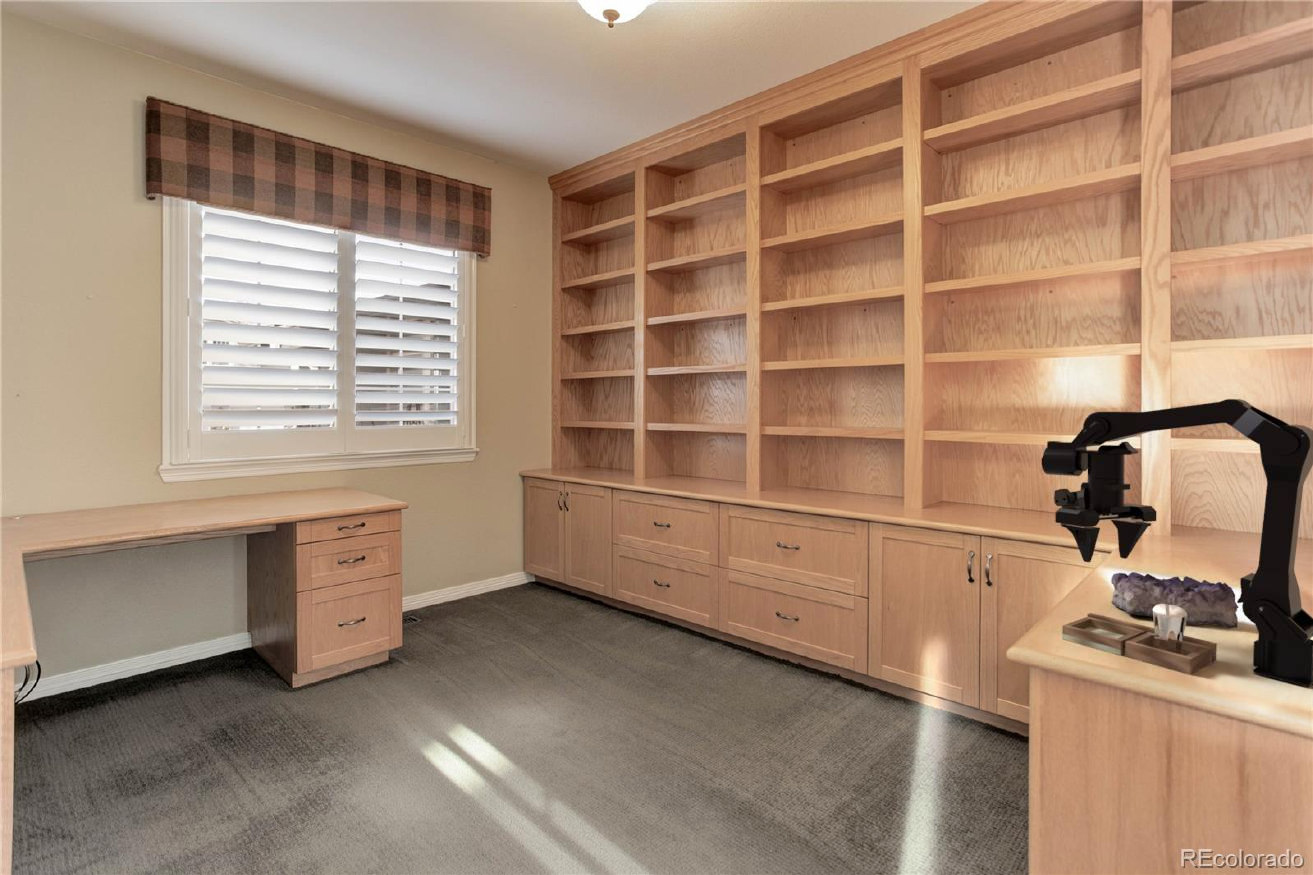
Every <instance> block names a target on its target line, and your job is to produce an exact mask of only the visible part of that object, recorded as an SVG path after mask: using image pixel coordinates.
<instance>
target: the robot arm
mask: <svg viewBox="0 0 1313 875" xmlns="http://www.w3.org/2000/svg"><path fill="white" fill-rule="evenodd" d="M1218 424H1219V425H1220V424H1227V425H1229V426H1230V427H1232V428H1233V429H1234V430H1236V431H1238V433H1240V434H1241V435H1243V436H1244V437H1246V438H1247V439H1249V440H1251V441H1252V442H1254V443H1256V444H1257V445H1259V451H1260V459H1261V465H1262V468H1263V471H1264V475H1265V478H1266V490H1265V492H1266V493H1265V502H1264V511H1263V520H1262V529H1261V530H1262V531H1261V537H1260V547H1259V556H1258V557H1259V558H1258V564H1257V569H1256V571H1255V573H1254V572H1250V573H1248V574H1246V575H1245V576H1242V577H1241V578H1240V579H1239V580H1240V581H1239V584H1240V596H1239V598H1238V599H1237V601H1236V603H1237V604H1241V603H1242V605H1241V606H1242V608H1241V609H1242V612H1243V615H1244V616H1245V617H1246V618H1247V619H1248V620H1249V621H1250V622H1251V623H1253V624H1254V625H1255V627H1256V629H1257V630H1256V631H1257V632H1258V637H1257V638H1258V639H1256V640H1255V641H1253V649H1252V650H1253V652H1252V665H1253V666H1254V668H1253V670H1252V673H1254V674H1257V675H1259V676H1265V677H1269V678H1270V679H1271V678H1272V679H1275V680H1279V681H1283V682H1287V683H1291V684H1294V685H1299V686H1303V687H1306V688H1307V687H1311V686H1312V685H1313V639H1312V637H1313V617H1312V616H1311V615H1310V614H1309V613H1308V612H1307V611H1306V610H1304V609H1303V607H1302V601H1301V599H1302V598H1301V591H1300V586H1299V582H1298V580H1297V577H1296V572H1295V563H1296V556H1297V554H1296V553H1297V548H1298V547H1297V546H1298V536H1299V529H1300V518H1301V509H1302V502H1303V501H1302V500H1303V492H1304V485H1305V482H1306V479H1307V478H1308V476H1309V474H1310V471H1311V469H1312V467H1313V429H1312V428H1310V427H1308V426H1305V425H1302V424H1289V423H1288V422H1286V421H1283V420H1282V419H1280V418H1278V417H1277V416H1273V415H1271V414H1270V413H1268V412H1265V411H1264V410H1261V409H1259V408H1257V407H1255V406H1253V405H1252V404H1251V403H1249V402H1248V401H1247V400H1244V399H1240V398H1239V399H1238V398H1237V399H1236V398H1227V399H1224V400H1220V401H1216V402H1215V401H1214V402H1208V403H1207V402H1206V403H1201V404H1192V405H1186V406H1177V407H1171V408H1165V409H1164V408H1162V409H1156V410H1155V409H1154V410H1148V411H1095V412H1091V413H1090V414H1088V415H1087V417H1086V418H1085V419H1084V422H1083V426H1082V427H1083V428H1082V429H1080V431H1079V433H1078V434H1077V435H1076V436H1075V437H1074V439H1072V441H1066V442H1065V441H1060V440H1048V441H1047V442H1046V444H1047V445H1046V447H1045V449H1044V452H1043V455H1042V457H1041V469H1042V471H1043V472H1044V474H1046V475H1051V476H1052V475H1053V476H1067V477H1068V476H1069V477H1070V476H1071V477H1072V476H1073V477H1080V476H1081V475H1082V474H1083V472H1086V471H1087V481H1084V482H1081V484H1080V489H1079V490H1077V491H1070V490H1069V489H1068V488H1059V489H1056V490H1054V494H1053V495H1054V496H1053V500H1054V504H1055V505H1056V506H1057V507H1059V508H1058V509H1057V510H1056V511H1055V512H1054V514H1055V516H1054V522H1055V523H1056V524H1060V526H1061V528H1065V529H1067V530H1068V531H1069V532H1070V534H1072V536H1073V538H1074V540H1075V543H1076V546H1077V548H1078V550H1079V553H1080V555H1081V557H1082V560H1083V562H1084V563H1091V561H1092V559H1093V555H1094V553H1095V548H1096V545H1097V540H1098V537H1099V534H1100V529H1101V527H1098V526H1097V525H1098V524H1099V523H1100V521H1103V520H1104V521H1105V520H1110V521H1111V522H1112V524H1113V525H1114V527H1115V528H1116V530H1117V542H1118V544H1117V545H1118V552H1119V558H1121V559H1128V558H1129V555H1130V554H1131V553H1132V551H1133V550H1134V548H1135V546H1136V545H1137V543H1138V542H1139V540H1140V538H1141V537H1142V535H1144V533H1145V532H1146V530H1147V529H1148V527H1151V526H1152V522H1157V510H1156V509H1155V508H1154V507H1153V506H1152V505H1145V504H1137V503H1128V502H1127V503H1125V491H1126V490H1127V491H1128V490H1131V483H1125V472H1126V471H1125V456H1126V455H1127V456H1130V455H1131V456H1132V455H1138V454H1139V450H1138V449H1136V448H1135V447H1133V446H1132V445H1131V443H1130V442H1129V441H1122V440H1126V439H1129V438H1133V437H1136V436H1139V435H1143V434H1147V433H1150V432H1155V431H1163V430H1165V431H1166V430H1174V429H1175V430H1176V429H1181V428H1184V429H1185V428H1193V427H1202V426H1208V425H1209V426H1210V425H1218ZM1118 441H1121V442H1120V443H1119V444H1118V445H1117V444H1116V445H1115V444H1113V445H1112V444H1105V443H1107V442H1108V443H1112V442H1118ZM1087 447H1088V448H1089V447H1098V448H1097V449H1096V450H1095V449H1094V450H1093V449H1087Z"/></svg>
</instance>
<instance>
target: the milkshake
mask: <svg viewBox="0 0 1313 875" xmlns="http://www.w3.org/2000/svg"><path fill="white" fill-rule="evenodd" d="M1152 618H1153V626H1154V627H1153V628H1154V629H1155V646H1156V648H1157V649H1161V650H1165V651H1169V652H1173V653H1176V654H1180V655H1181V653H1182V645H1183V637H1184V636H1185V631H1186V625H1187V624H1186V619H1187V613H1186V611H1185V610H1184V609H1182V608H1180V607H1178V606H1175V605H1168V604H1166V605H1165V604H1158V605H1156V606H1154V608H1153V617H1152Z"/></svg>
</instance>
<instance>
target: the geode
mask: <svg viewBox="0 0 1313 875" xmlns="http://www.w3.org/2000/svg"><path fill="white" fill-rule="evenodd" d="M1110 581H1111V585H1113V588H1114V590H1113V592H1112V598H1111V601H1110V602H1111V605H1113V606H1116V607H1117V608H1119V609H1121V610H1122V611H1124V612H1125V613H1127V614H1129V615H1136V616H1143V617H1144V616H1147V617H1152V618H1153V608H1154V606H1156V605H1158V604H1165V605H1166V604H1168V605H1175V606H1178V607H1180V608H1182V609H1184V610H1185V611H1186V613H1187V619H1186V625H1189V626H1191V625H1192V626H1196V625H1202V624H1203V625H1204V624H1210V625H1211V624H1212V625H1218V626H1220V627H1223V628H1225V629H1226V628H1227V629H1229V630H1230V629H1233V628H1238V624H1239V623H1238V621H1239V620H1238V619H1239V618H1238V616H1237V613H1236V612H1237V611H1238V609H1239V606H1238V603H1237V601H1236V594H1235V592H1234V590H1233V588H1232V587H1231V586H1229V585H1228V584H1227V583H1226V582H1224V583H1222V582H1221V581H1218V582H1216V583H1214V582H1210V581H1207V580H1205V579H1203V580H1202V581H1199V580H1197V579H1194V578H1192V577H1189V576H1187V575H1185V576H1184V577H1183V579H1182V580H1181V579H1180V577H1179V576H1172V577H1171V578H1162V579H1161V578H1156V577H1155V576H1153V575H1151V574H1149V573H1146V574H1145V575H1143V574H1141V573H1138V572H1134V571H1131V572H1130V573H1129V574H1127V573H1124V572H1117V573H1113V575H1112V577H1111V580H1110Z"/></svg>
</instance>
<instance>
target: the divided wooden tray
mask: <svg viewBox="0 0 1313 875" xmlns="http://www.w3.org/2000/svg"><path fill="white" fill-rule="evenodd" d="M1061 629H1062V630H1061V631H1062V635H1061V638H1062V640H1064V641H1068V642H1071V643H1076V644H1079V645H1081V646H1084V647H1085V646H1086V647H1090V648H1093V649H1096V650H1100V651H1102V652H1103V651H1104V652H1106V653H1111V654H1115V655H1118V656H1122V655H1124V657H1125V658H1130V659H1133V660H1137V661H1140V662H1145V663H1148V664H1152V665H1154V666H1158V667H1162V668H1165V669H1169V670H1172V671H1176V672H1179V673H1183V674H1187V675H1192V674H1193V673H1196V672H1198V671H1199V670H1200V669H1203V668H1204V667H1207V666H1209V665H1210V664H1212V663H1215V662H1217V648H1218V646H1217V645H1218V644H1217V643H1216V642H1214V641H1209V640H1204V639H1200V638H1196V637H1192V636H1187V635H1184V637H1183V645H1182V653H1181V655H1180V654H1176V653H1173V652H1169V651H1165V650H1161V649H1157V648H1156V646H1155V629H1154V627H1150V626H1146V625H1142V624H1137V623H1134V622H1130V621H1127V620H1122V619H1117V618H1113V617H1108V616H1105V615H1101V614H1097V613H1092V612H1089V613H1087V614H1086V617H1083V618H1080V619H1078V620H1075V621H1072V622H1068V623H1066V624H1063V625H1062V628H1061Z"/></svg>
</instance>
